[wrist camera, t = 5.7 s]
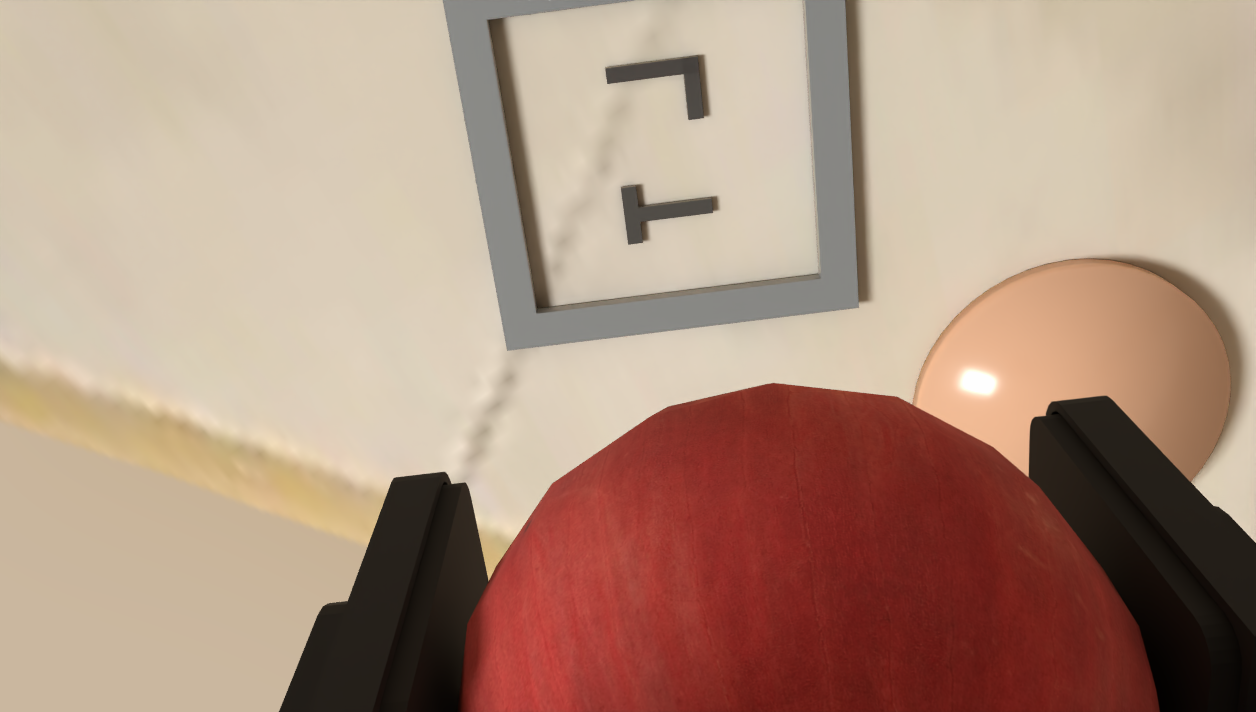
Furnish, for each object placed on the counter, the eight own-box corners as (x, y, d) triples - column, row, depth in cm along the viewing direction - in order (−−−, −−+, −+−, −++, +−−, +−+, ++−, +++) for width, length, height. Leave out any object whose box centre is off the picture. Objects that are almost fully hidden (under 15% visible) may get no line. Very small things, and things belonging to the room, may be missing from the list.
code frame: (838, -71, 27) (842, -71, 27) (855, 302, 31) (858, 307, 31) (442, -18, 28) (439, -17, 27) (508, 345, 32) (507, 350, 31)
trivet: (1230, 240, 31) (1245, 249, 30) (1203, 514, 34) (1216, 528, 34) (907, 279, 31) (915, 289, 30) (914, 547, 35) (921, 562, 34)
